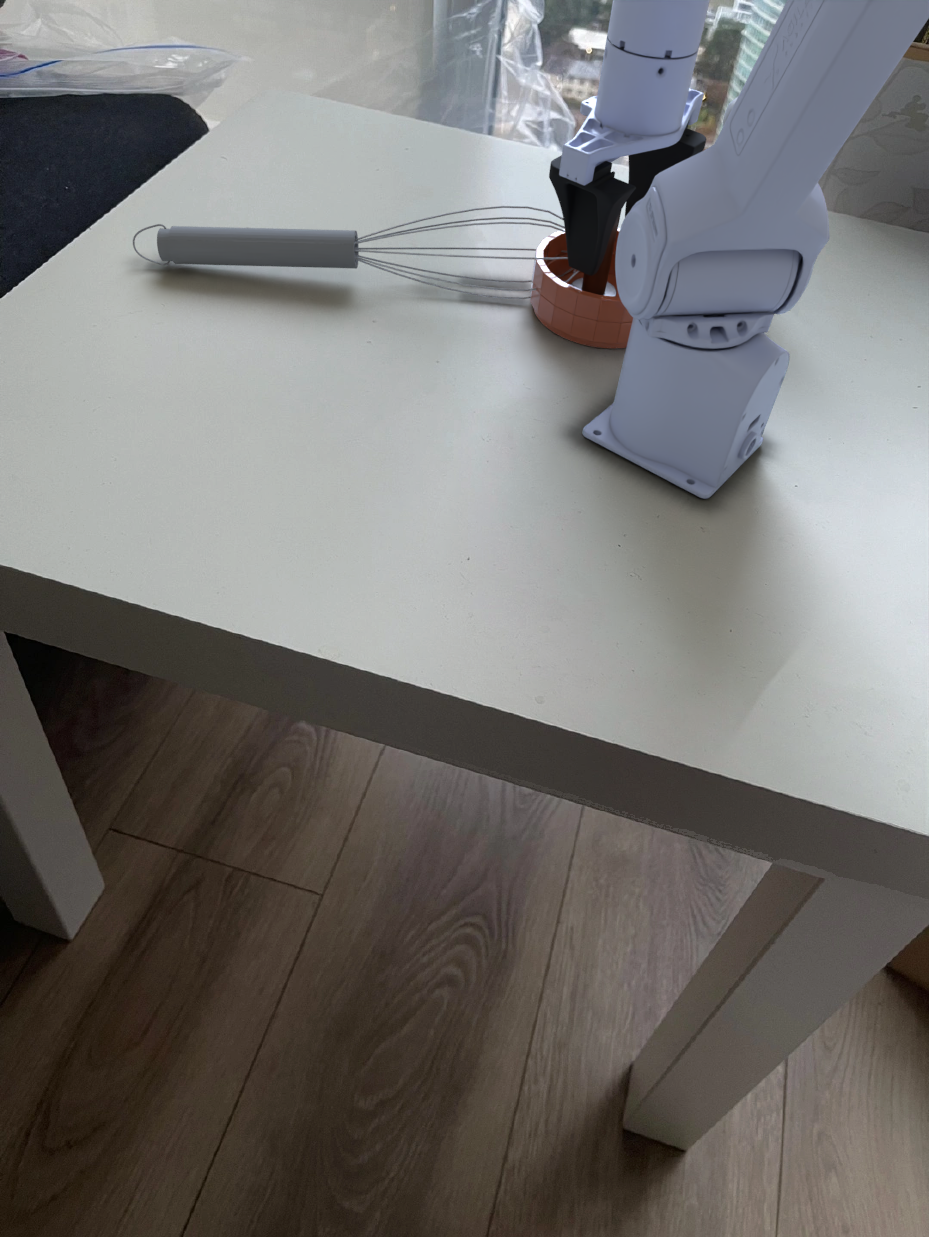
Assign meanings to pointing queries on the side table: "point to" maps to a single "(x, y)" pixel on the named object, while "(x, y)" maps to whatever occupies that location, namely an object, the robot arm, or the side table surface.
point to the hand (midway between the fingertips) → (611, 250)
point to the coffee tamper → (601, 271)
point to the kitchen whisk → (312, 247)
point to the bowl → (576, 300)
